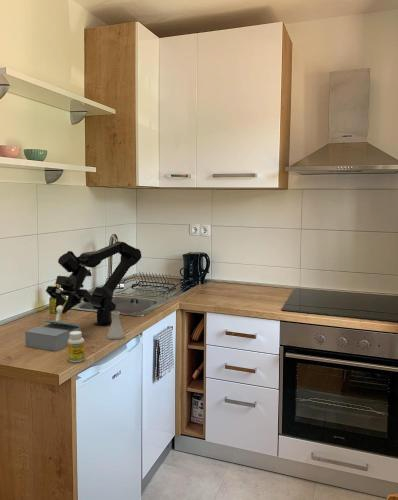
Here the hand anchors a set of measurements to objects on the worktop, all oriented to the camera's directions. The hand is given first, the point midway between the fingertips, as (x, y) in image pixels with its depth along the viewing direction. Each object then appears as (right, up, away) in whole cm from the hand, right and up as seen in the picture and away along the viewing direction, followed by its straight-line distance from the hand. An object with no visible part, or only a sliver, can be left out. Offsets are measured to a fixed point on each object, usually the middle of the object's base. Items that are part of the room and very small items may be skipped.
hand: (59, 312), depth 174 cm
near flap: (0, -4, +1) cm, 4 cm away
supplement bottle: (+12, -14, -19) cm, 27 cm away
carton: (-1, -11, -2) cm, 11 cm away
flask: (+21, -11, +5) cm, 24 cm away
